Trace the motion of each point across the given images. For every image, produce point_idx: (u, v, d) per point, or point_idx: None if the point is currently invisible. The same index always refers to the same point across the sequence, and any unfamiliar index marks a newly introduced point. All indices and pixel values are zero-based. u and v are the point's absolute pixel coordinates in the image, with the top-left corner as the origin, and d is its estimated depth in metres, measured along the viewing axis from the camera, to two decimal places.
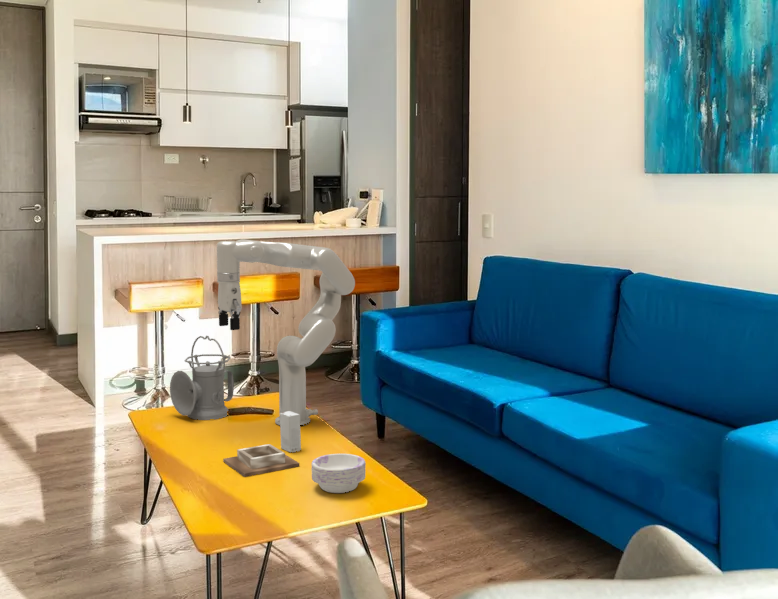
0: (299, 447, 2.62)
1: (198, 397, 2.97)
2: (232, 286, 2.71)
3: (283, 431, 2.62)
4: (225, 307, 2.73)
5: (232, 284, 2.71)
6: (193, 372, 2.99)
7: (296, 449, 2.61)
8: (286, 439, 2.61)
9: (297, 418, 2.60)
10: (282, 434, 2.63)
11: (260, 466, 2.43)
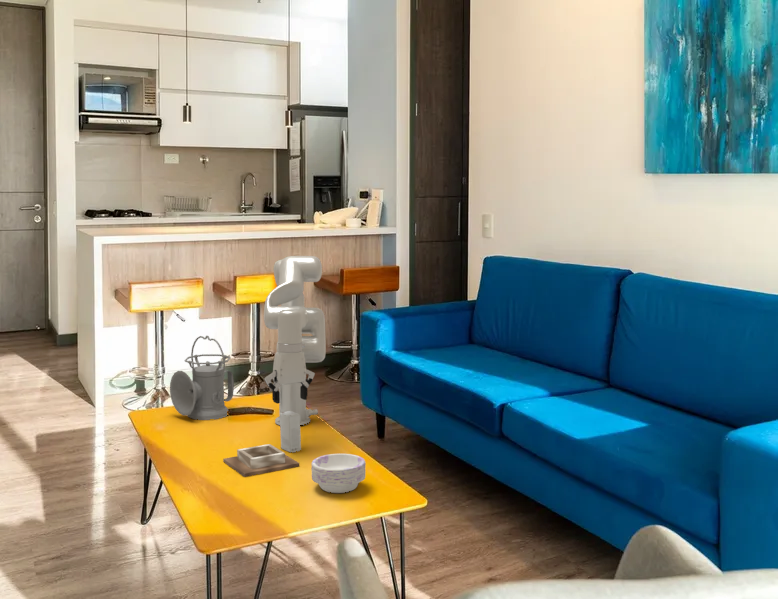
0: (299, 447, 2.62)
1: (198, 397, 2.97)
2: None
3: (283, 431, 2.62)
4: (300, 378, 2.60)
5: None
6: (193, 372, 2.99)
7: (296, 449, 2.61)
8: (286, 439, 2.61)
9: (297, 418, 2.60)
10: (282, 434, 2.63)
11: (260, 466, 2.43)
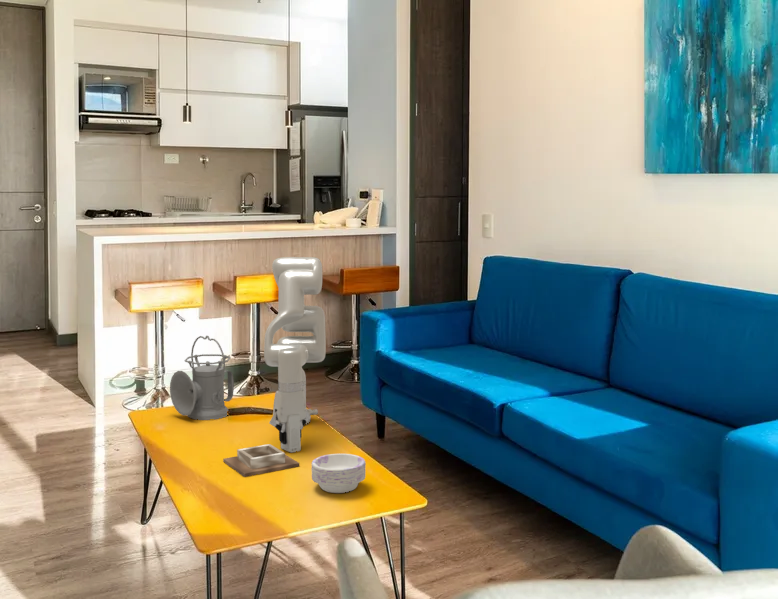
0: (299, 447, 2.62)
1: (198, 397, 2.97)
2: None
3: None
4: (300, 416, 2.62)
5: None
6: (193, 372, 2.99)
7: (296, 449, 2.61)
8: None
9: (297, 418, 2.60)
10: None
11: (260, 466, 2.43)
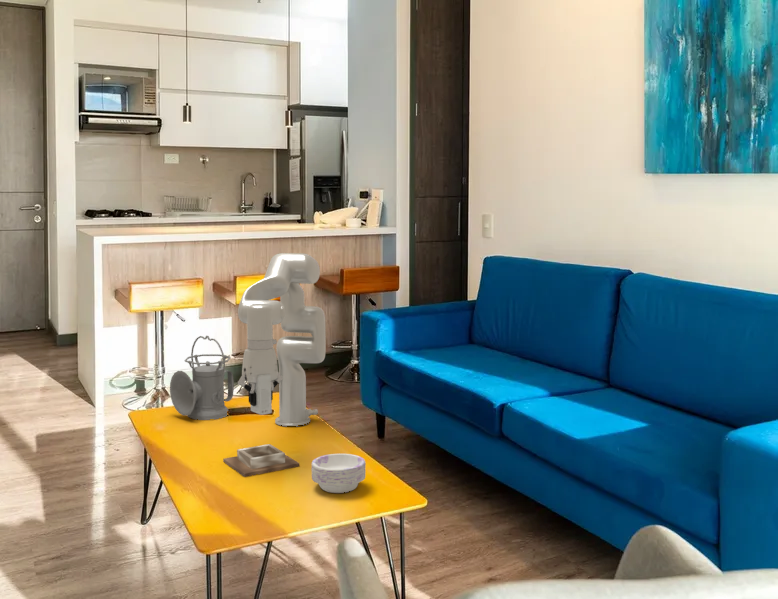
0: (270, 409, 2.45)
1: (198, 397, 2.97)
2: None
3: None
4: (271, 376, 2.45)
5: None
6: (193, 372, 2.99)
7: (266, 411, 2.45)
8: None
9: (267, 378, 2.44)
10: None
11: (260, 466, 2.43)
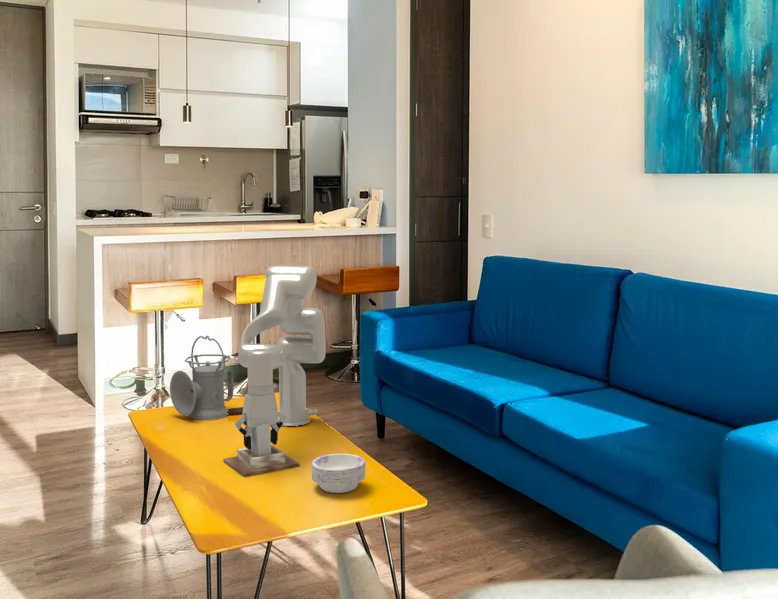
0: None
1: (198, 397, 2.97)
2: None
3: (253, 441, 2.48)
4: (271, 421, 2.47)
5: None
6: (193, 372, 2.99)
7: None
8: (255, 449, 2.47)
9: (266, 427, 2.46)
10: (252, 444, 2.48)
11: (260, 466, 2.43)
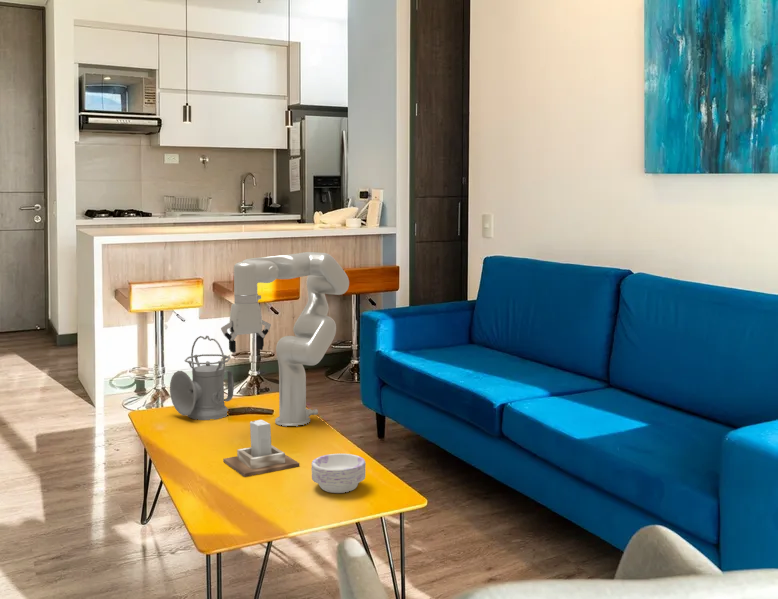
0: None
1: (198, 397, 2.97)
2: None
3: (253, 441, 2.48)
4: (256, 328, 2.69)
5: None
6: (193, 372, 2.99)
7: None
8: (255, 449, 2.47)
9: (267, 428, 2.46)
10: (252, 444, 2.48)
11: (260, 466, 2.43)
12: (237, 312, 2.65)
